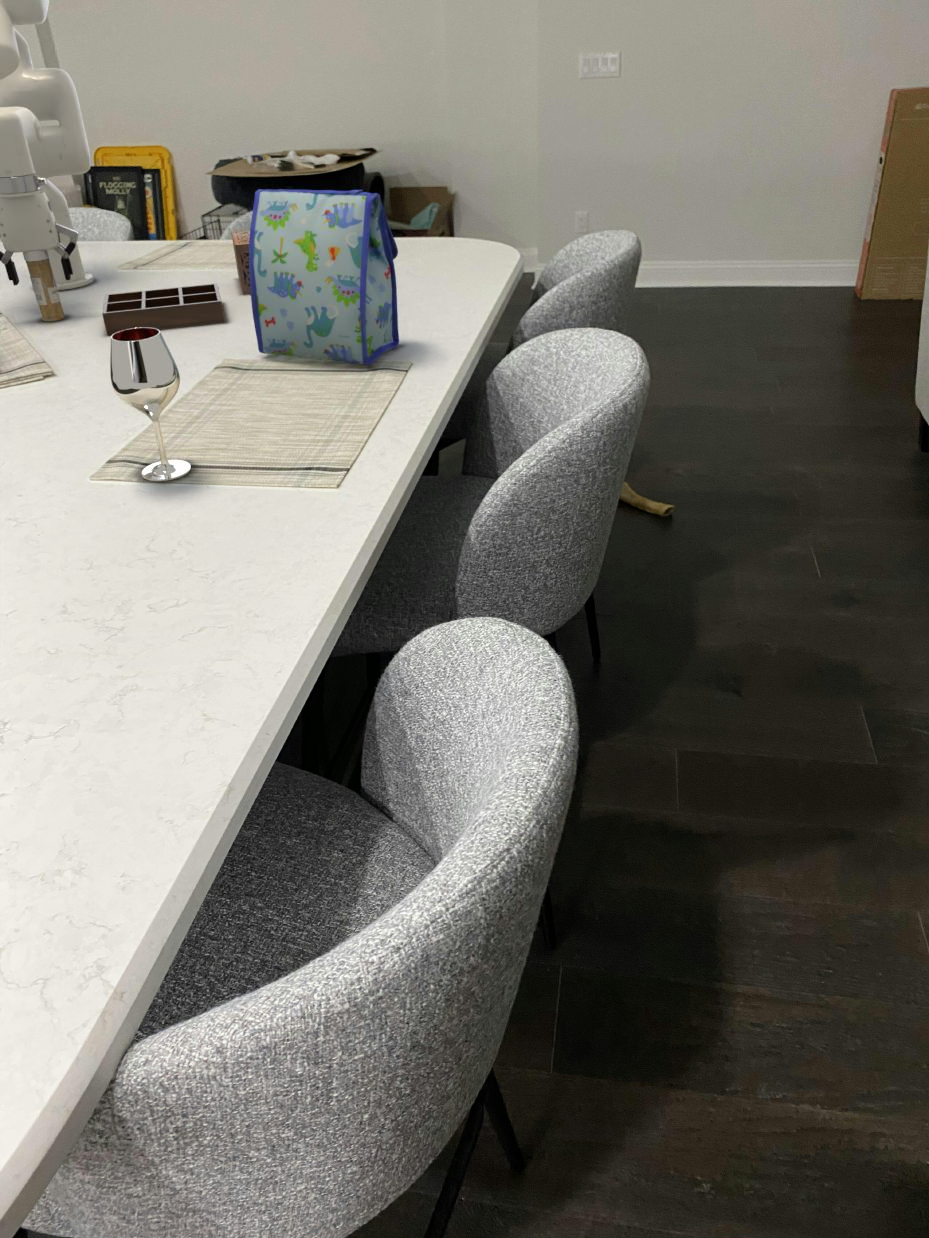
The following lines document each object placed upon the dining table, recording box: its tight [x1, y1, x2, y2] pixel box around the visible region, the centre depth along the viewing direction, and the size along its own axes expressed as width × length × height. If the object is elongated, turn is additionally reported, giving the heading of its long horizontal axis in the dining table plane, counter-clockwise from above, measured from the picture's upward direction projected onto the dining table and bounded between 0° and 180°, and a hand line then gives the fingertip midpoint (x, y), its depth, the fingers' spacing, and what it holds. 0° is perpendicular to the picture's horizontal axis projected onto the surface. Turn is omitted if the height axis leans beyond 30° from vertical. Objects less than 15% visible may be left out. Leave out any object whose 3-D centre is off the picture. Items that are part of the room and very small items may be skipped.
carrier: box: [101, 282, 226, 336], centre depth 182 cm, size 15×22×4 cm
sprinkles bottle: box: [22, 250, 66, 322], centre depth 182 cm, size 5×5×13 cm
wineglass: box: [109, 328, 192, 482], centre depth 117 cm, size 8×8×18 cm
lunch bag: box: [249, 188, 400, 366], centre depth 155 cm, size 22×17×26 cm
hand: (42, 281), depth 181 cm, fingers open, 9 cm apart
